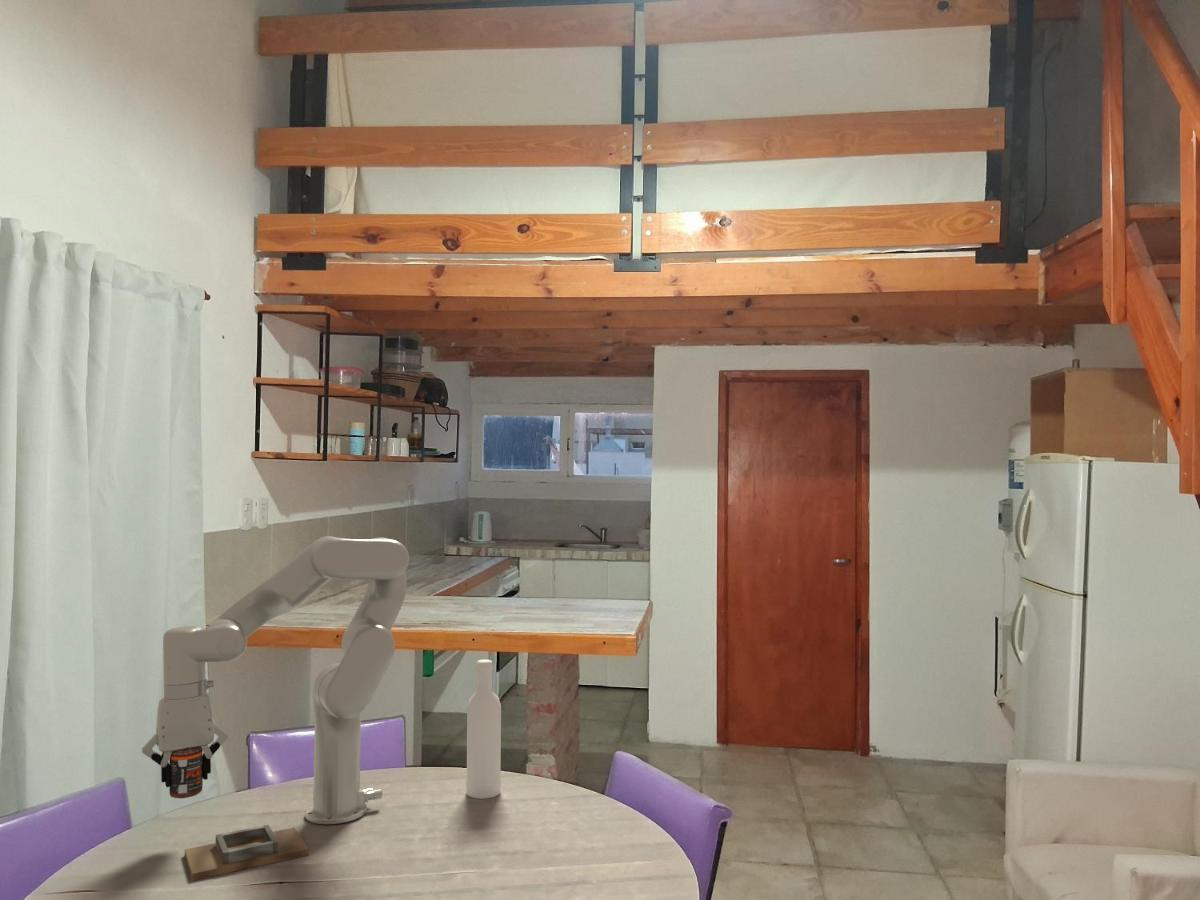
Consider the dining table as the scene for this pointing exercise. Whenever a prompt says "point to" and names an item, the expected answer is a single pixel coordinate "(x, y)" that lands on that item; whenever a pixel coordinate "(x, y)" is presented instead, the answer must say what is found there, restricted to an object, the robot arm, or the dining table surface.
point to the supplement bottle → (186, 772)
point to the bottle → (483, 737)
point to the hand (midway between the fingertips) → (186, 780)
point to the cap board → (244, 851)
